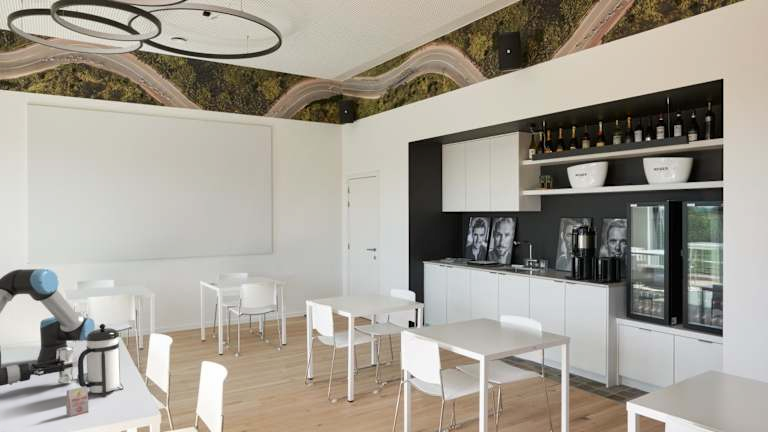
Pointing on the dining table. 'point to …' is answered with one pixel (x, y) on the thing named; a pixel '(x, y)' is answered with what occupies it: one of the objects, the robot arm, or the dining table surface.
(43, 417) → the dining table surface
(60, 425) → the dining table surface
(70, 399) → the printed carton
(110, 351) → the coffee press
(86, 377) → the block
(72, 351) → the beer glass
